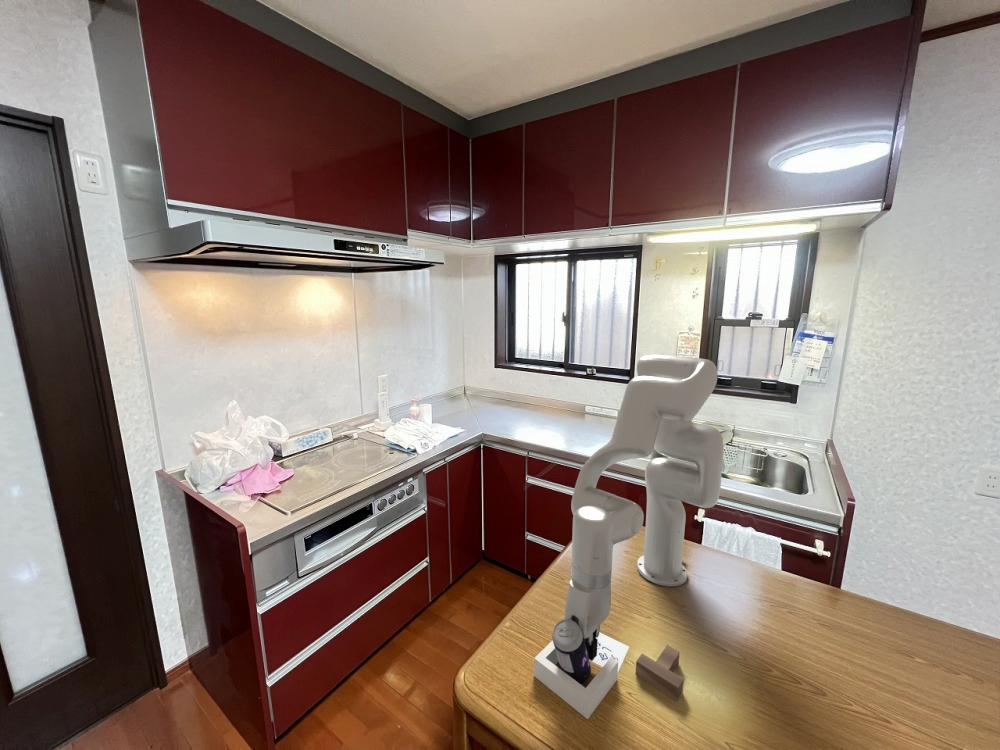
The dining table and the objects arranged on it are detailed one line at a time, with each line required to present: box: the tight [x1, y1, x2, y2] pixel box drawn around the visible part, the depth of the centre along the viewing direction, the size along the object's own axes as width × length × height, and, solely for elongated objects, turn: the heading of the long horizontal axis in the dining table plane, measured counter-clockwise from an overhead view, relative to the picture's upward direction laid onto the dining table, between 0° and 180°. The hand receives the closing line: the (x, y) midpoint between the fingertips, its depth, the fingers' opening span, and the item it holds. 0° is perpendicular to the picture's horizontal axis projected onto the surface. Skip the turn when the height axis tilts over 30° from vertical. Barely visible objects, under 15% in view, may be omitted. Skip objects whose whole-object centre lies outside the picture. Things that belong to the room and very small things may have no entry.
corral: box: [533, 639, 619, 720], centre depth 78 cm, size 10×12×4 cm
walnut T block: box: [635, 644, 685, 703], centre depth 78 cm, size 8×8×3 cm
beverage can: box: [551, 618, 592, 685], centre depth 76 cm, size 6×6×12 cm
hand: (587, 654), depth 81 cm, fingers closed
